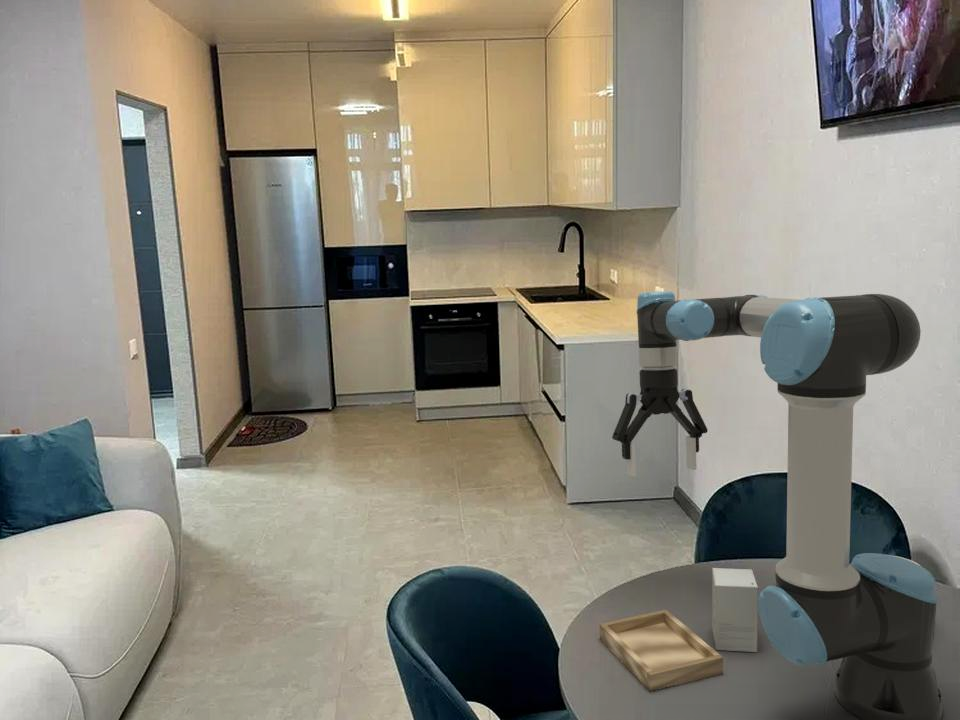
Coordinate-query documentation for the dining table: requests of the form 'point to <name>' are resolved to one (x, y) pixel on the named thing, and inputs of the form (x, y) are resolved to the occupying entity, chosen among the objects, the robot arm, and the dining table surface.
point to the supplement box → (734, 609)
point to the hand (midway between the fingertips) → (661, 471)
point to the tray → (660, 650)
